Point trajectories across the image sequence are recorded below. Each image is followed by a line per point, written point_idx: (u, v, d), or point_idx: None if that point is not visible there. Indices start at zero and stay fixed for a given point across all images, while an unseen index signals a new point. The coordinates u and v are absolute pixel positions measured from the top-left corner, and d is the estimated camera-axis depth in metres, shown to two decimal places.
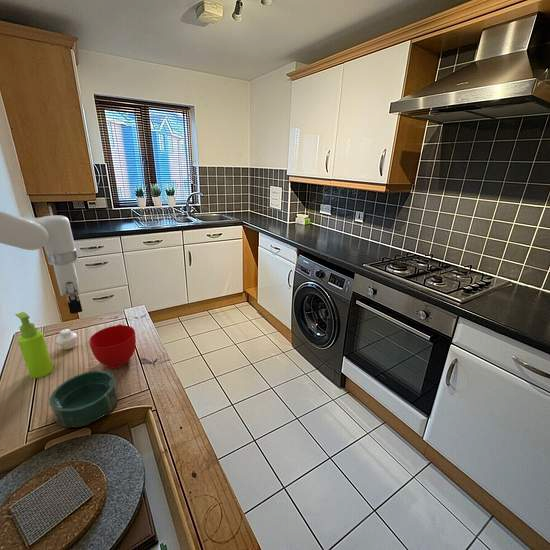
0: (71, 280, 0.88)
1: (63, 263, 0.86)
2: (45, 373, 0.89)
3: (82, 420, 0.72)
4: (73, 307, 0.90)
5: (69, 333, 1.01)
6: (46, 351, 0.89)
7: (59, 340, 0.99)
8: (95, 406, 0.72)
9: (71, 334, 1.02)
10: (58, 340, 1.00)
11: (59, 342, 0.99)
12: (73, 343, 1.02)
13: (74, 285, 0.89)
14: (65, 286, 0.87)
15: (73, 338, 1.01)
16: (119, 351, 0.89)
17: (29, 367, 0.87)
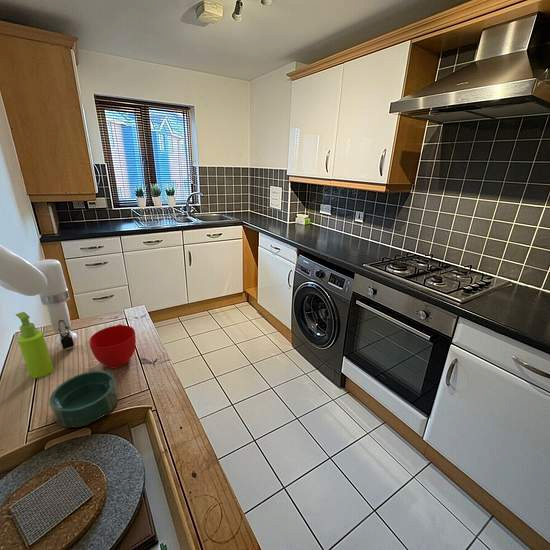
0: (63, 320, 0.95)
1: (55, 303, 0.94)
2: (45, 373, 0.89)
3: (82, 420, 0.72)
4: (65, 343, 0.98)
5: None
6: (46, 351, 0.89)
7: (59, 340, 0.99)
8: (95, 406, 0.72)
9: (71, 334, 1.02)
10: (58, 340, 1.00)
11: (59, 342, 0.99)
12: None
13: (66, 323, 0.96)
14: (57, 324, 0.95)
15: (73, 338, 1.01)
16: (119, 351, 0.89)
17: (29, 367, 0.87)
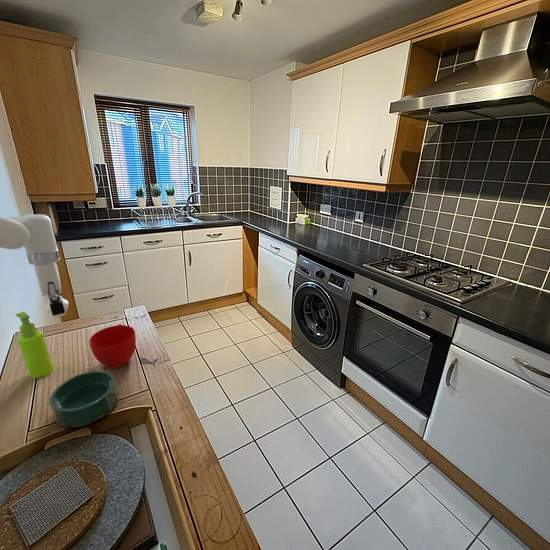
0: (53, 282, 0.86)
1: (44, 263, 0.85)
2: (45, 373, 0.89)
3: (82, 420, 0.72)
4: (55, 308, 0.89)
5: None
6: (46, 351, 0.89)
7: (48, 306, 0.90)
8: (95, 406, 0.72)
9: (62, 300, 0.93)
10: (47, 306, 0.90)
11: (48, 308, 0.90)
12: None
13: (56, 285, 0.87)
14: (46, 286, 0.86)
15: (64, 304, 0.92)
16: (119, 351, 0.89)
17: (29, 367, 0.87)
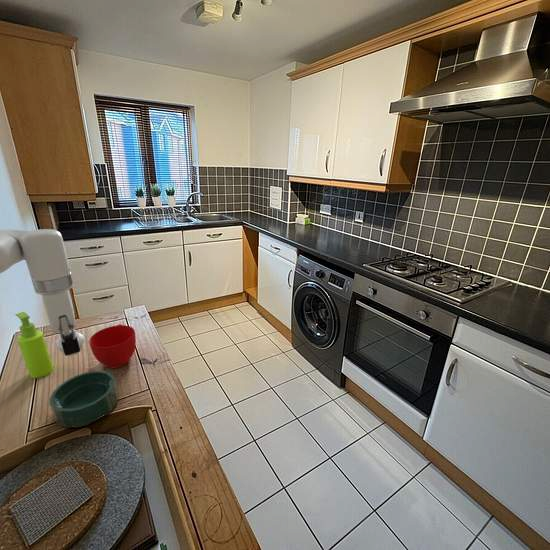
0: (66, 315, 0.68)
1: (55, 292, 0.66)
2: (45, 373, 0.89)
3: (82, 420, 0.72)
4: (68, 347, 0.71)
5: None
6: (46, 351, 0.89)
7: (60, 343, 0.72)
8: (95, 406, 0.72)
9: (76, 335, 0.74)
10: (58, 343, 0.72)
11: (60, 346, 0.72)
12: (79, 347, 0.74)
13: (69, 319, 0.68)
14: (57, 321, 0.67)
15: (79, 340, 0.74)
16: (119, 351, 0.89)
17: (29, 367, 0.87)
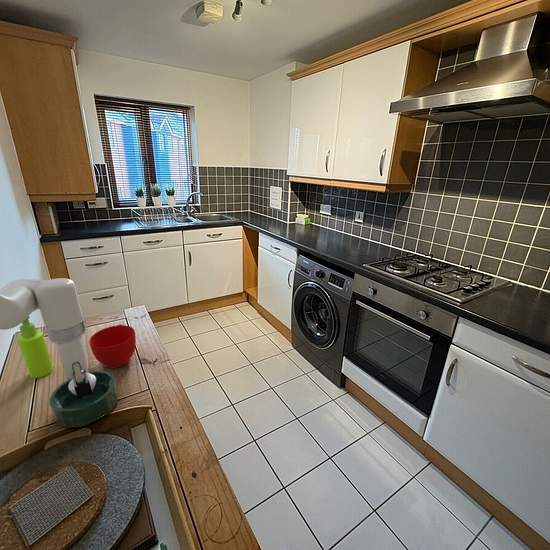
0: (79, 361, 0.69)
1: (68, 340, 0.67)
2: (45, 373, 0.89)
3: (82, 420, 0.72)
4: (81, 391, 0.72)
5: None
6: (46, 351, 0.89)
7: (73, 387, 0.73)
8: (95, 406, 0.72)
9: (88, 377, 0.75)
10: (71, 387, 0.73)
11: (73, 389, 0.73)
12: (91, 389, 0.76)
13: (82, 365, 0.70)
14: (71, 368, 0.68)
15: (91, 383, 0.75)
16: (119, 351, 0.89)
17: (29, 367, 0.87)
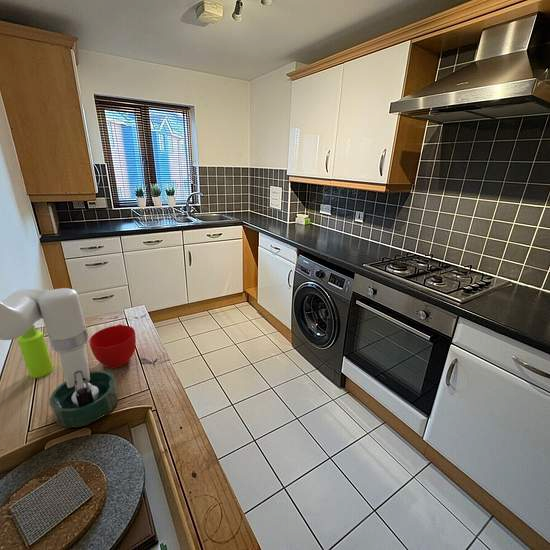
0: (80, 369, 0.70)
1: (71, 349, 0.68)
2: (45, 373, 0.89)
3: (82, 420, 0.72)
4: (83, 400, 0.72)
5: (89, 388, 0.76)
6: (46, 351, 0.89)
7: (76, 399, 0.75)
8: (95, 406, 0.72)
9: (91, 389, 0.77)
10: (74, 399, 0.75)
11: (76, 402, 0.74)
12: None
13: (84, 374, 0.71)
14: (73, 377, 0.69)
15: (94, 395, 0.76)
16: (119, 351, 0.89)
17: (29, 367, 0.87)
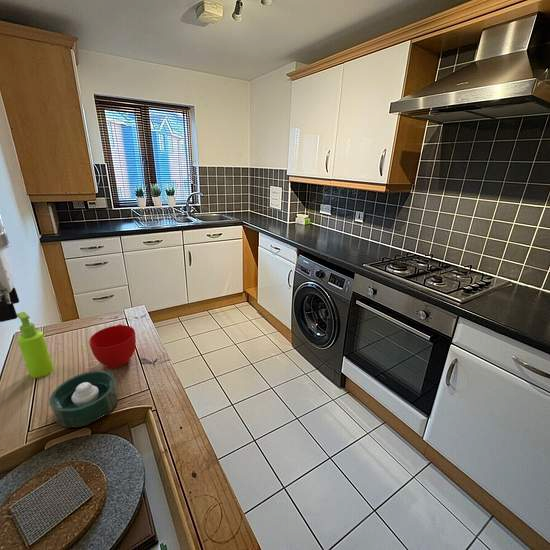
0: None
1: None
2: (45, 373, 0.89)
3: (82, 420, 0.72)
4: (2, 313, 0.64)
5: (89, 388, 0.76)
6: (46, 351, 0.89)
7: (76, 399, 0.75)
8: (95, 406, 0.72)
9: (91, 389, 0.77)
10: (74, 399, 0.75)
11: (76, 402, 0.74)
12: None
13: (2, 282, 0.63)
14: None
15: (94, 395, 0.76)
16: (119, 351, 0.89)
17: (29, 367, 0.87)
